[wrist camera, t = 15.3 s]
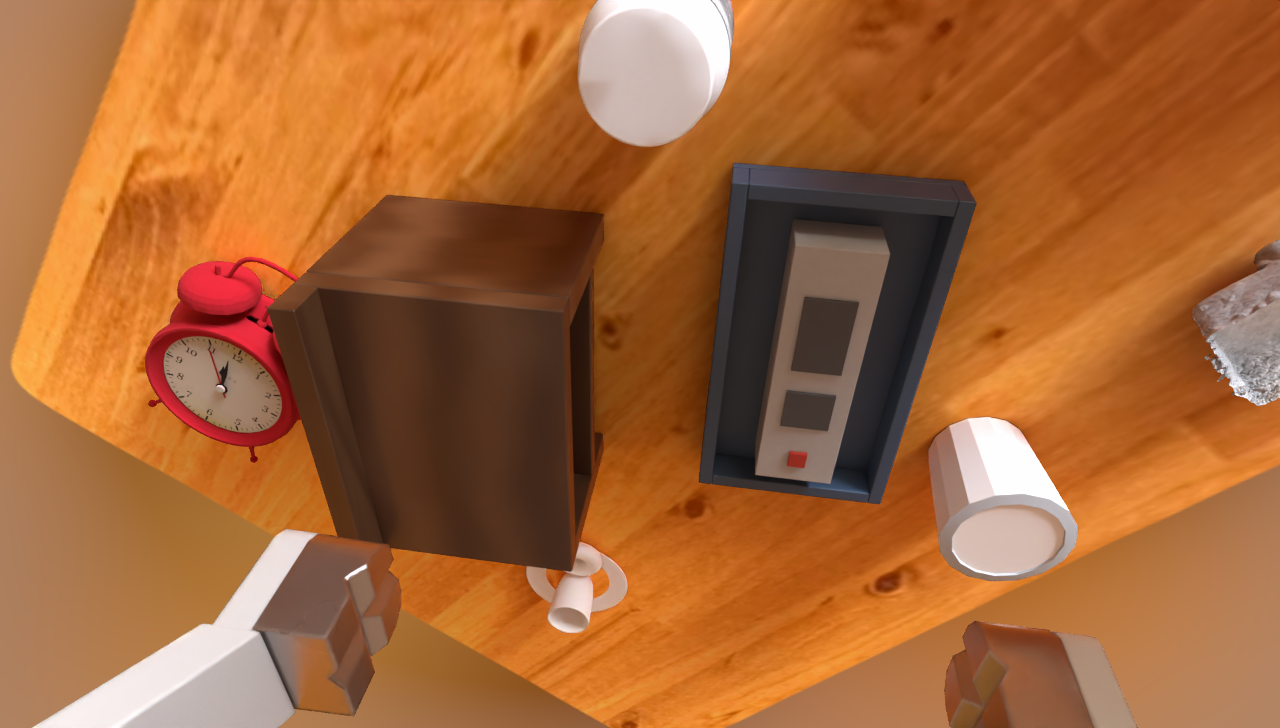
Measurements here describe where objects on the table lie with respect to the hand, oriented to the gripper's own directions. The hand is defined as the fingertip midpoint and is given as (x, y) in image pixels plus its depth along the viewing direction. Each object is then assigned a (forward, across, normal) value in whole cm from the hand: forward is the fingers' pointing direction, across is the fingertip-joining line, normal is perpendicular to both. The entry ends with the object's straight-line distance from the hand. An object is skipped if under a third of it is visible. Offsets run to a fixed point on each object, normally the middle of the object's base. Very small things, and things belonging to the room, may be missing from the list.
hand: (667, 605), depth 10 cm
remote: (+28, -6, +14) cm, 32 cm away
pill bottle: (+29, +3, -2) cm, 30 cm away
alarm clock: (+29, +28, +18) cm, 44 cm away
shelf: (+29, +12, +16) cm, 35 cm away
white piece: (+30, +5, +37) cm, 48 cm away
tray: (+29, -6, +14) cm, 33 cm away
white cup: (+29, -17, +21) cm, 40 cm away
